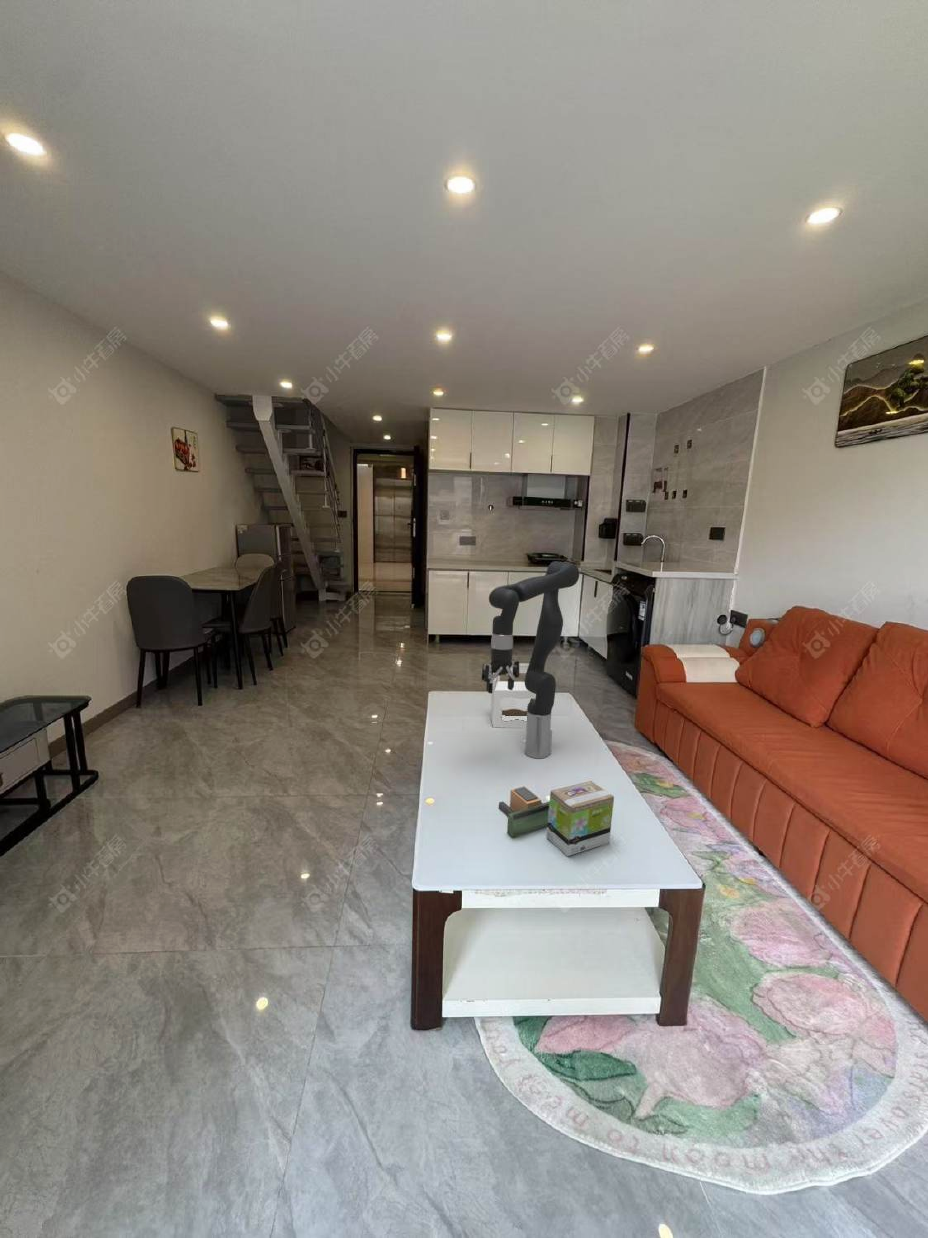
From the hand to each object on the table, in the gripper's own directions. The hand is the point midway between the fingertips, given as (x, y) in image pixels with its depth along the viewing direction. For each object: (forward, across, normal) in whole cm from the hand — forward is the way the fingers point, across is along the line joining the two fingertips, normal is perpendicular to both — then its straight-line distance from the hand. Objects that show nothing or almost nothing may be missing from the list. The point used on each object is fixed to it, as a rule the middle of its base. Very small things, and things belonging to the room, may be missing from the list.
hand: (500, 691), depth 175 cm
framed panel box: (+30, +7, +26) cm, 41 cm away
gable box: (+30, -33, -35) cm, 57 cm away
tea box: (+30, +2, +45) cm, 54 cm away
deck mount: (+30, +7, +29) cm, 42 cm away
